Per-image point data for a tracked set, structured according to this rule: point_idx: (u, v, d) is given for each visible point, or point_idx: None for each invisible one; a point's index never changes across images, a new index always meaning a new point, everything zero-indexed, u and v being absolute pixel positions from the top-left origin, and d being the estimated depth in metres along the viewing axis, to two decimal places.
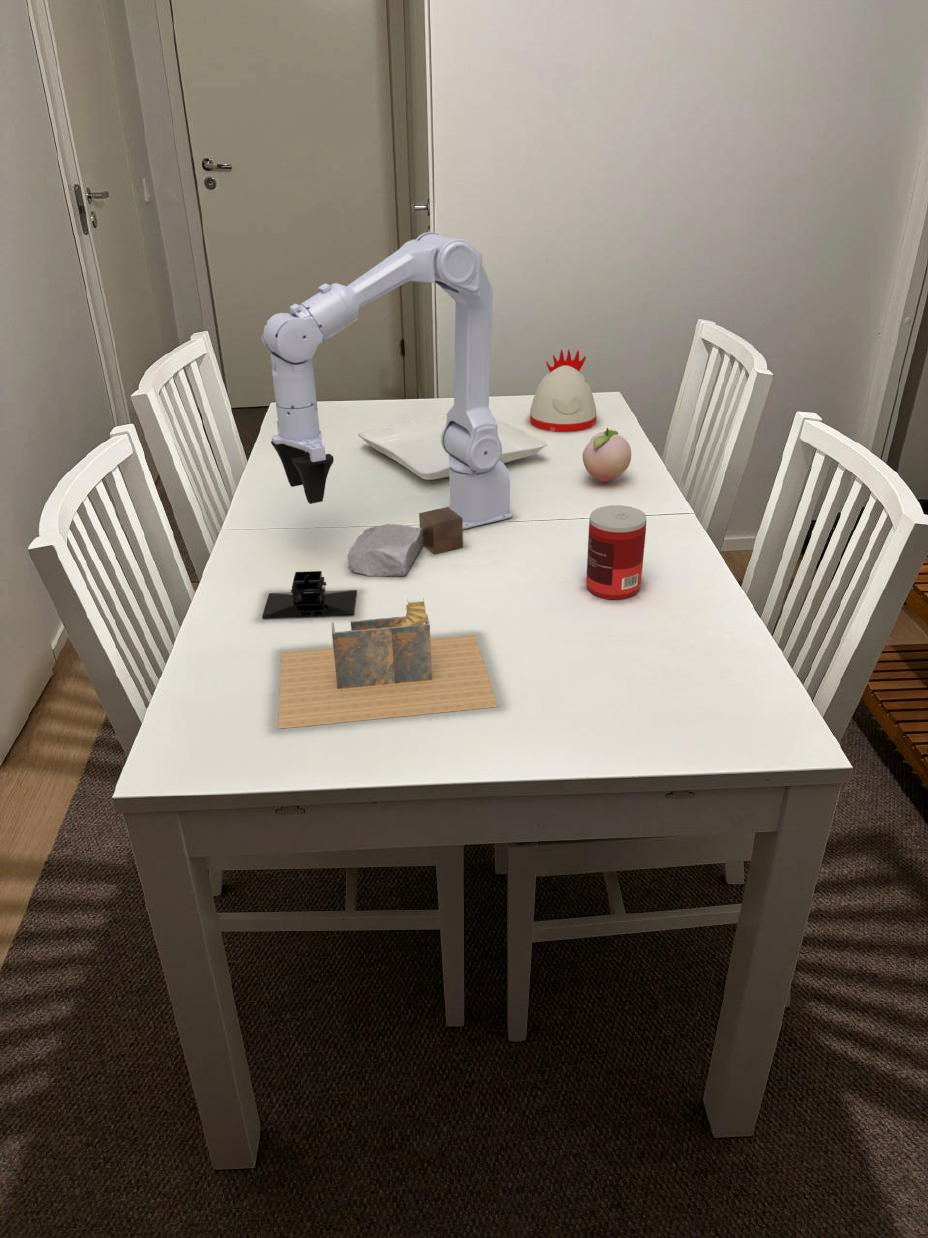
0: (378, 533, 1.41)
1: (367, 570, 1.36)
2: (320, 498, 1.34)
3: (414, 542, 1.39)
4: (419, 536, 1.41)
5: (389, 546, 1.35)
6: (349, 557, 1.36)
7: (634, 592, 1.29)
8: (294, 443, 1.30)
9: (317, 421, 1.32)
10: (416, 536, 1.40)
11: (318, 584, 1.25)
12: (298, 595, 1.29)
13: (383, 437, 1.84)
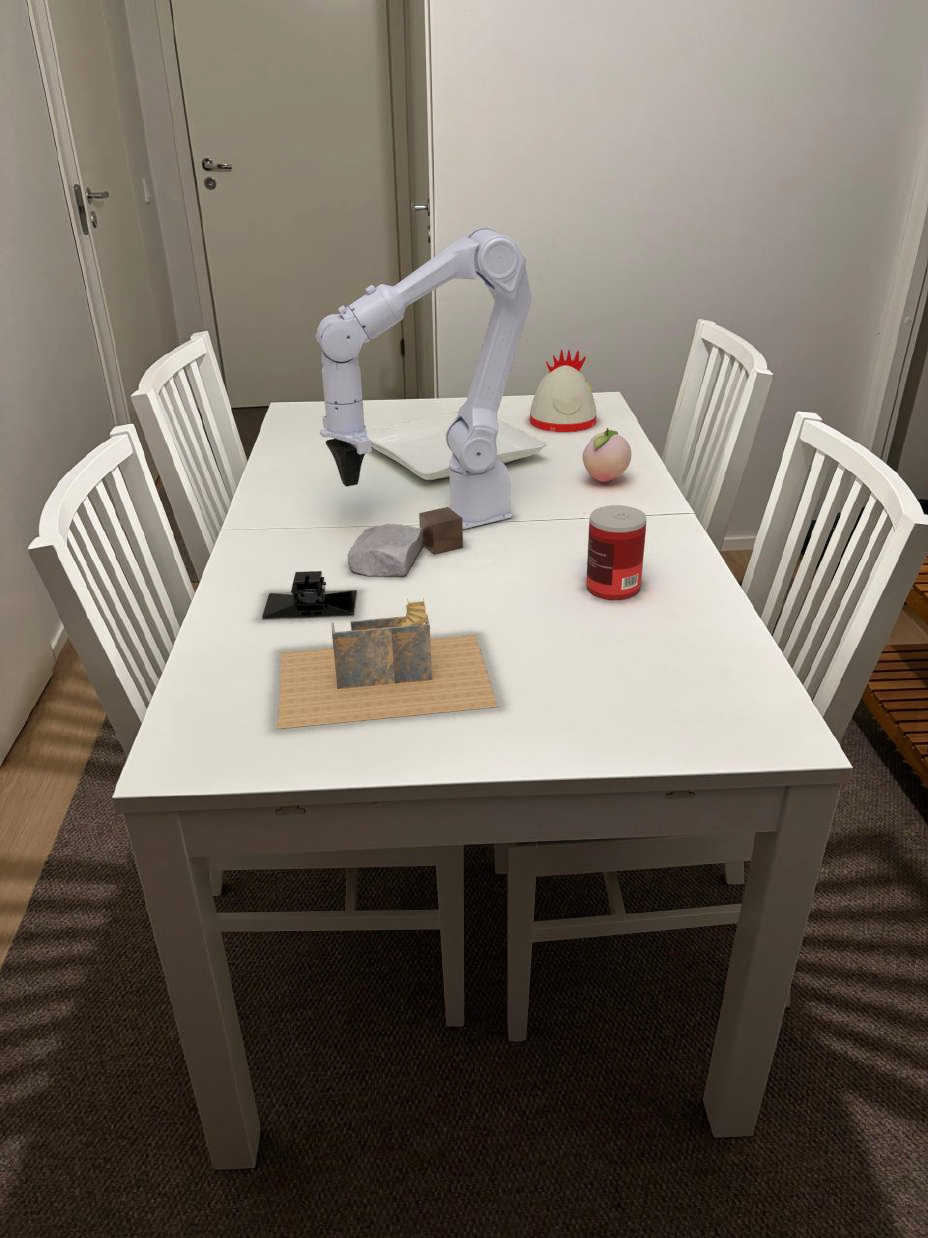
0: (378, 533, 1.41)
1: (367, 570, 1.36)
2: (355, 481, 1.46)
3: (414, 542, 1.39)
4: (419, 536, 1.41)
5: (389, 546, 1.35)
6: (349, 557, 1.36)
7: (634, 592, 1.29)
8: (341, 437, 1.38)
9: (362, 416, 1.40)
10: (416, 536, 1.40)
11: (318, 584, 1.25)
12: (298, 595, 1.29)
13: (383, 437, 1.84)
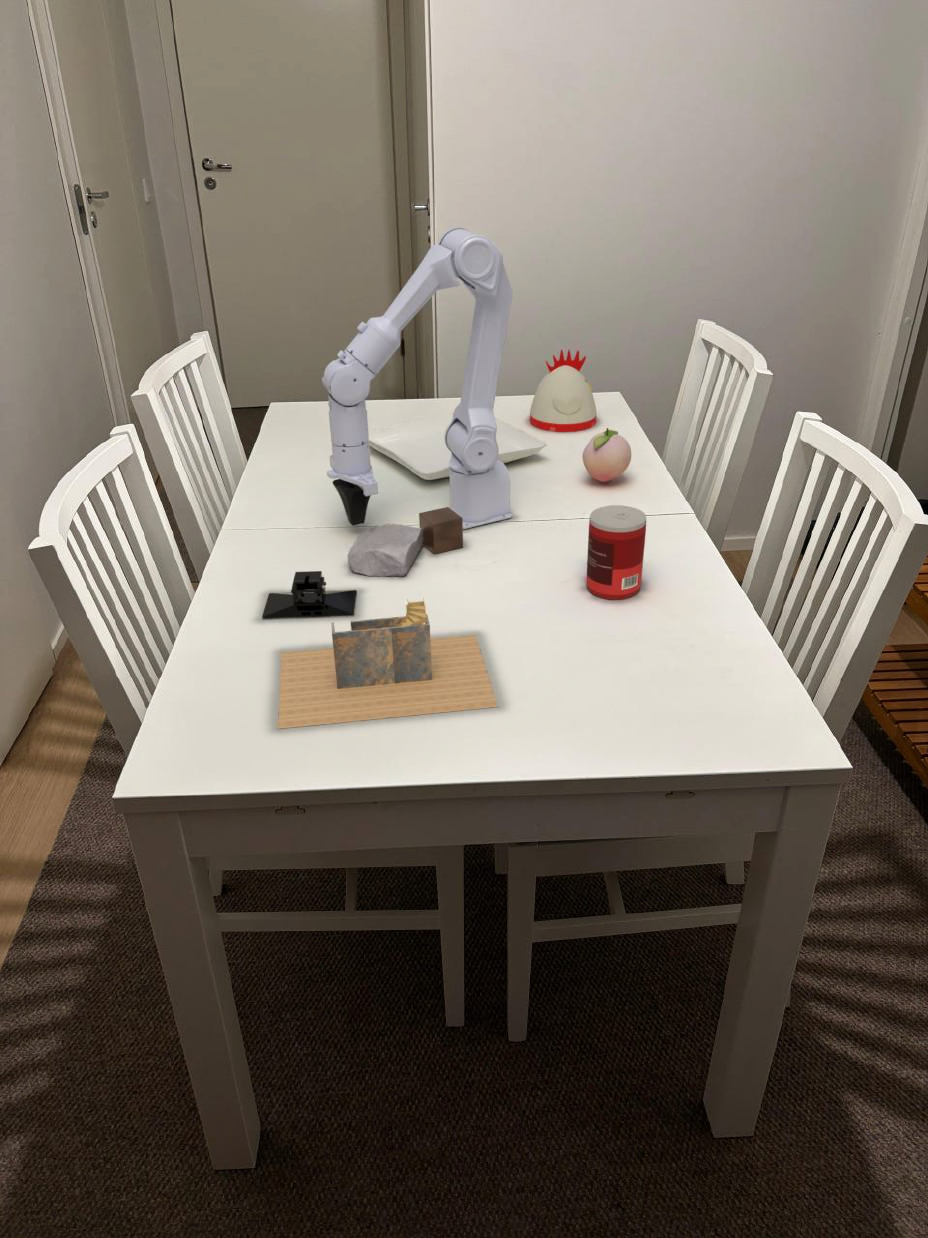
0: (378, 533, 1.41)
1: (367, 570, 1.36)
2: (362, 520, 1.48)
3: (414, 542, 1.39)
4: (419, 536, 1.41)
5: (389, 546, 1.35)
6: (349, 557, 1.36)
7: (634, 592, 1.29)
8: (348, 478, 1.40)
9: (369, 457, 1.42)
10: (416, 536, 1.40)
11: (318, 584, 1.25)
12: (298, 595, 1.29)
13: (383, 437, 1.84)
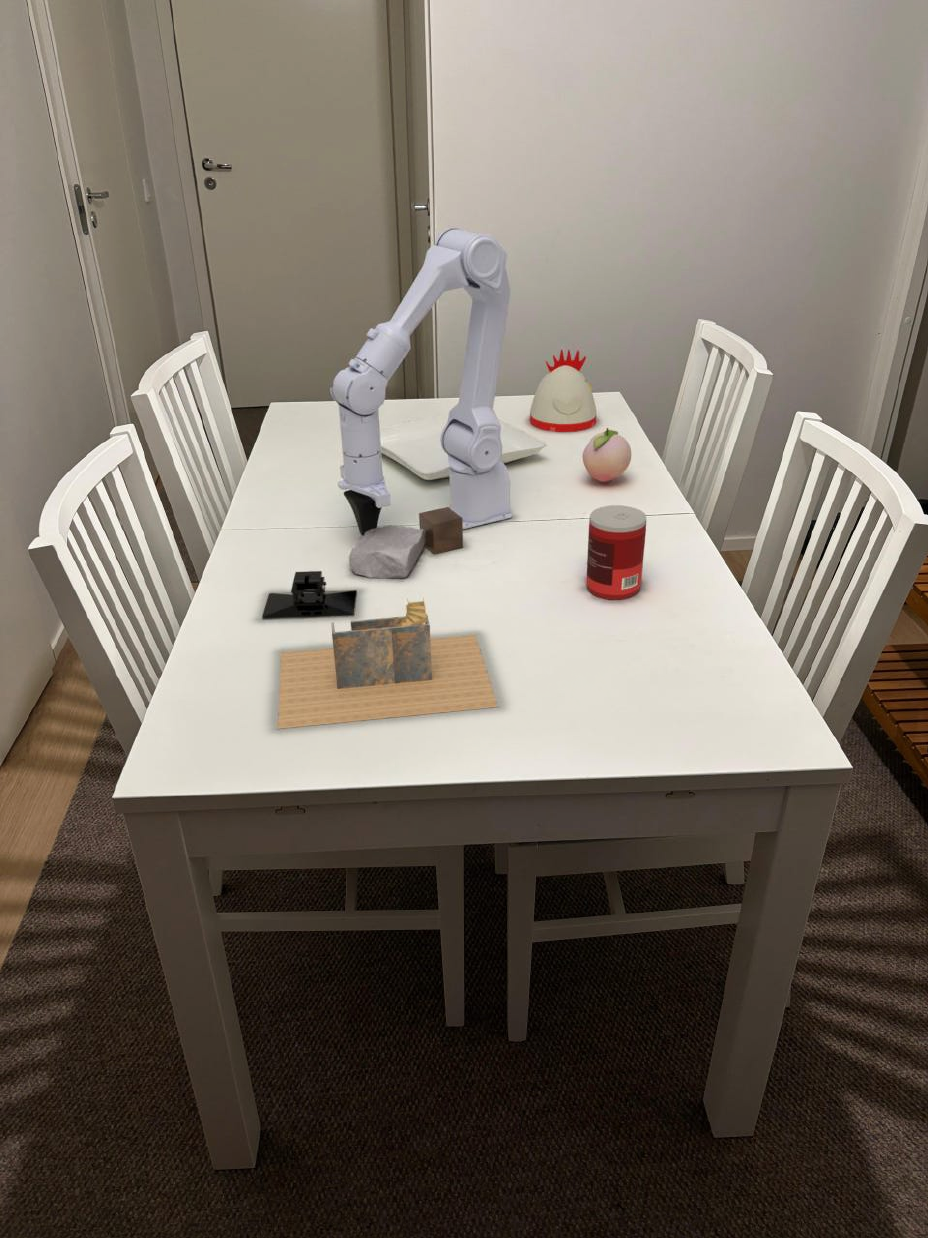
0: (379, 534, 1.41)
1: (368, 572, 1.35)
2: None
3: (416, 544, 1.38)
4: (421, 538, 1.41)
5: (390, 548, 1.34)
6: (350, 559, 1.36)
7: (634, 592, 1.29)
8: (360, 490, 1.37)
9: (381, 468, 1.39)
10: (418, 538, 1.40)
11: (318, 584, 1.25)
12: (298, 595, 1.29)
13: (383, 437, 1.84)
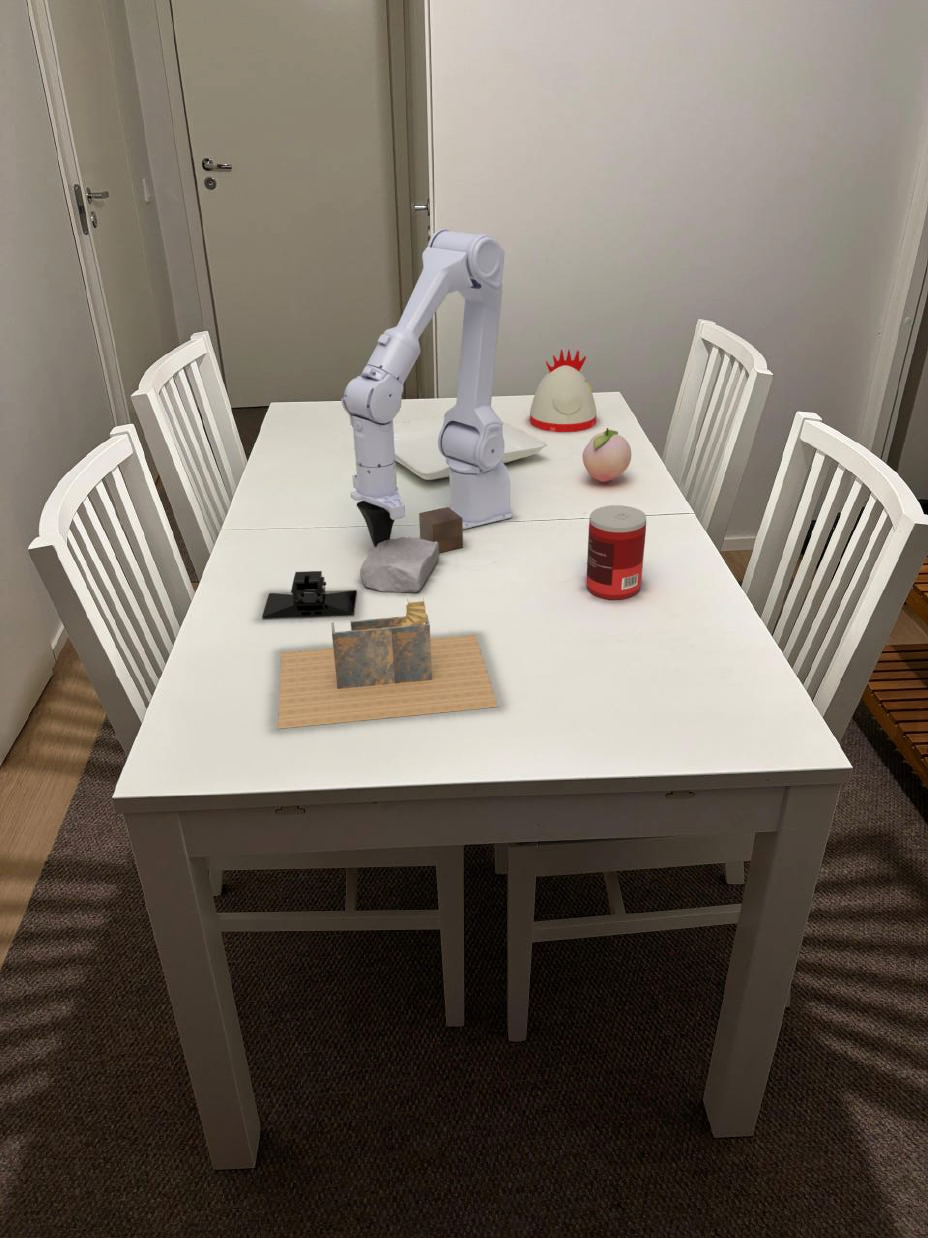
0: (392, 547, 1.37)
1: (380, 585, 1.32)
2: None
3: (429, 557, 1.34)
4: (434, 550, 1.37)
5: (402, 561, 1.30)
6: (361, 571, 1.32)
7: (634, 592, 1.29)
8: (373, 501, 1.33)
9: (395, 478, 1.35)
10: (431, 551, 1.36)
11: (318, 584, 1.25)
12: (298, 595, 1.29)
13: None
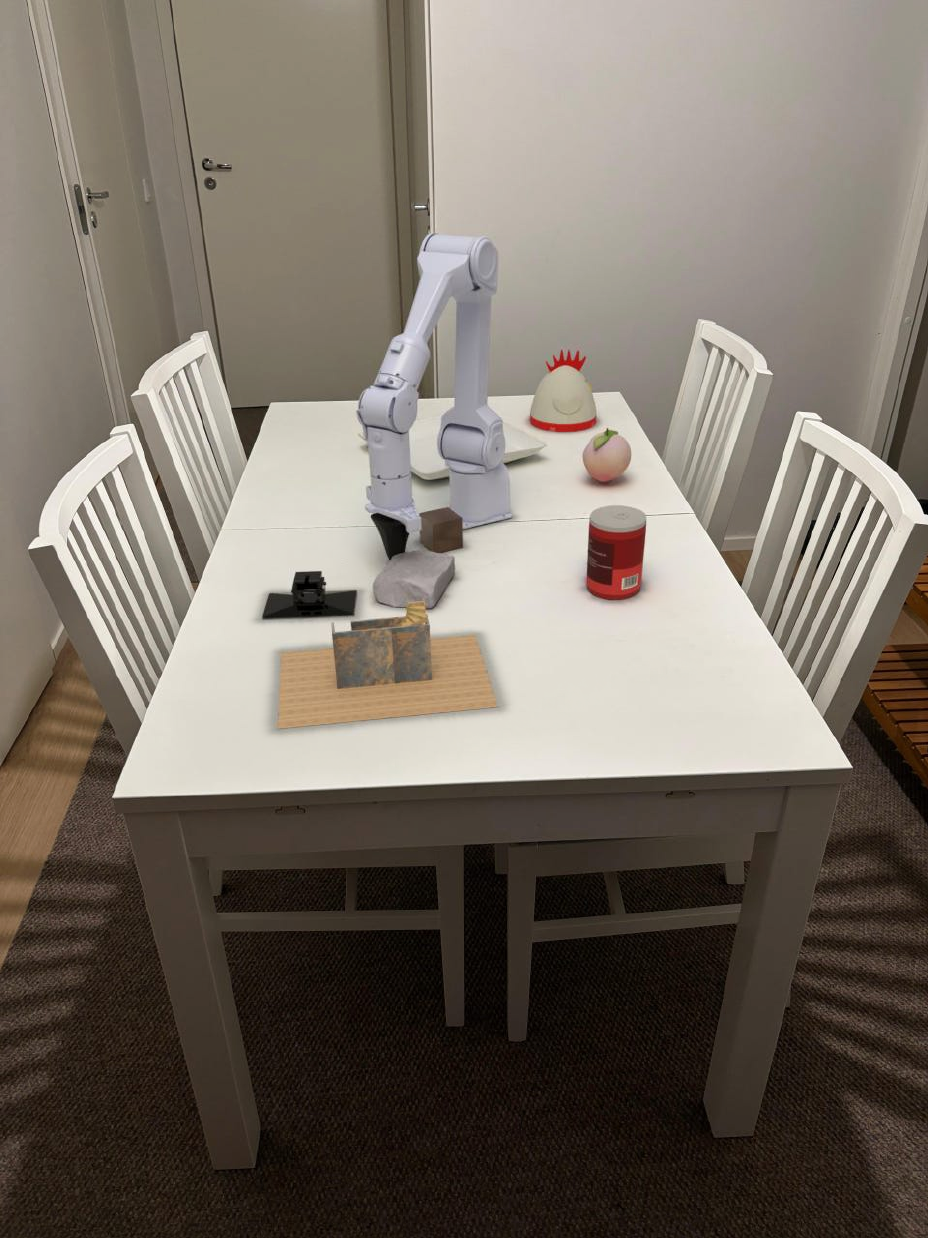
0: (407, 560, 1.33)
1: (393, 601, 1.28)
2: None
3: (444, 572, 1.30)
4: (450, 565, 1.32)
5: (416, 576, 1.26)
6: (374, 586, 1.28)
7: (634, 592, 1.29)
8: (389, 513, 1.29)
9: (411, 490, 1.31)
10: (447, 565, 1.32)
11: (318, 584, 1.25)
12: (298, 595, 1.29)
13: None
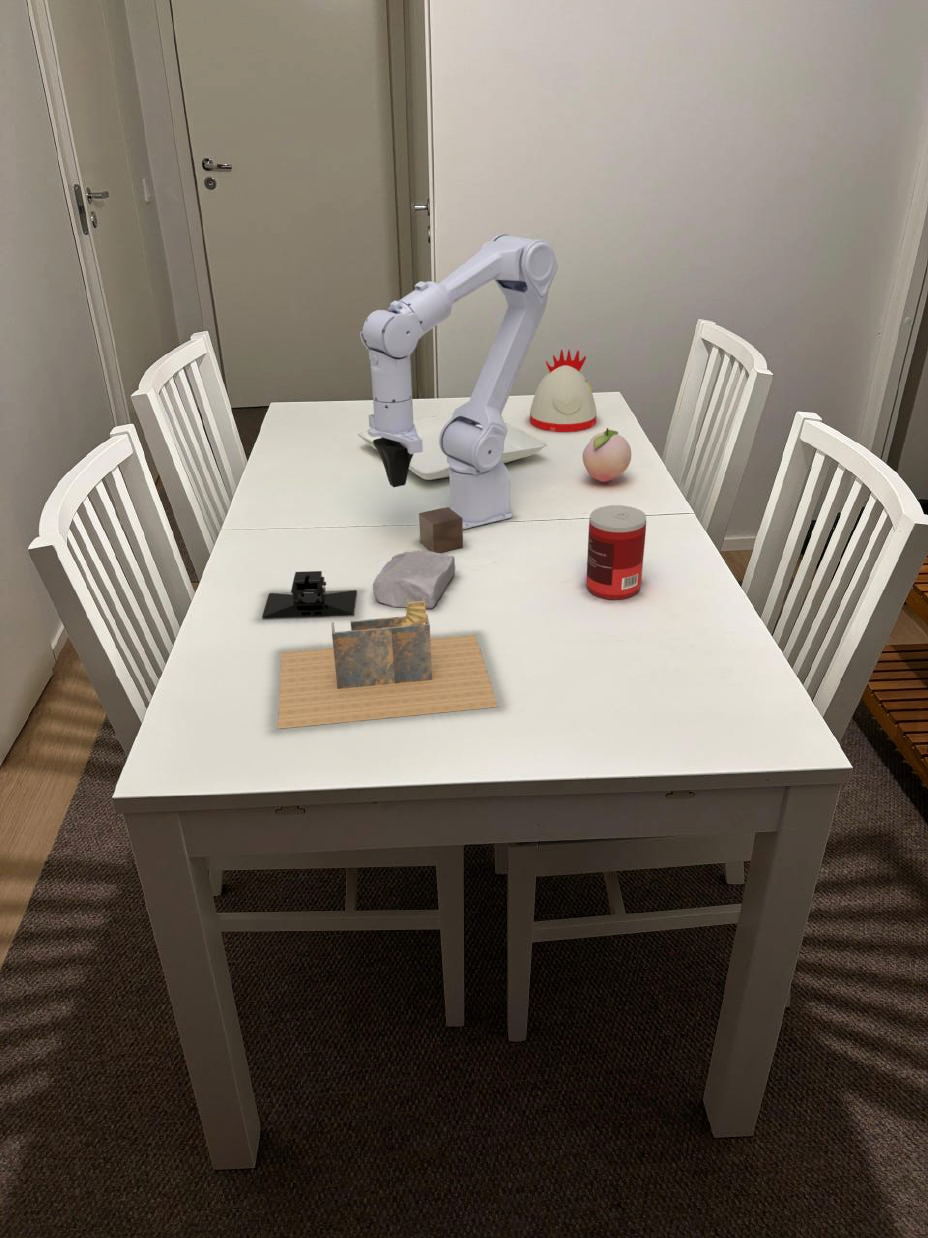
0: (407, 560, 1.33)
1: (393, 601, 1.28)
2: (403, 482, 1.41)
3: (444, 572, 1.30)
4: (450, 565, 1.32)
5: (416, 576, 1.26)
6: (374, 586, 1.28)
7: (634, 592, 1.29)
8: (391, 436, 1.34)
9: (412, 414, 1.36)
10: (447, 565, 1.32)
11: (318, 584, 1.25)
12: (298, 595, 1.29)
13: None
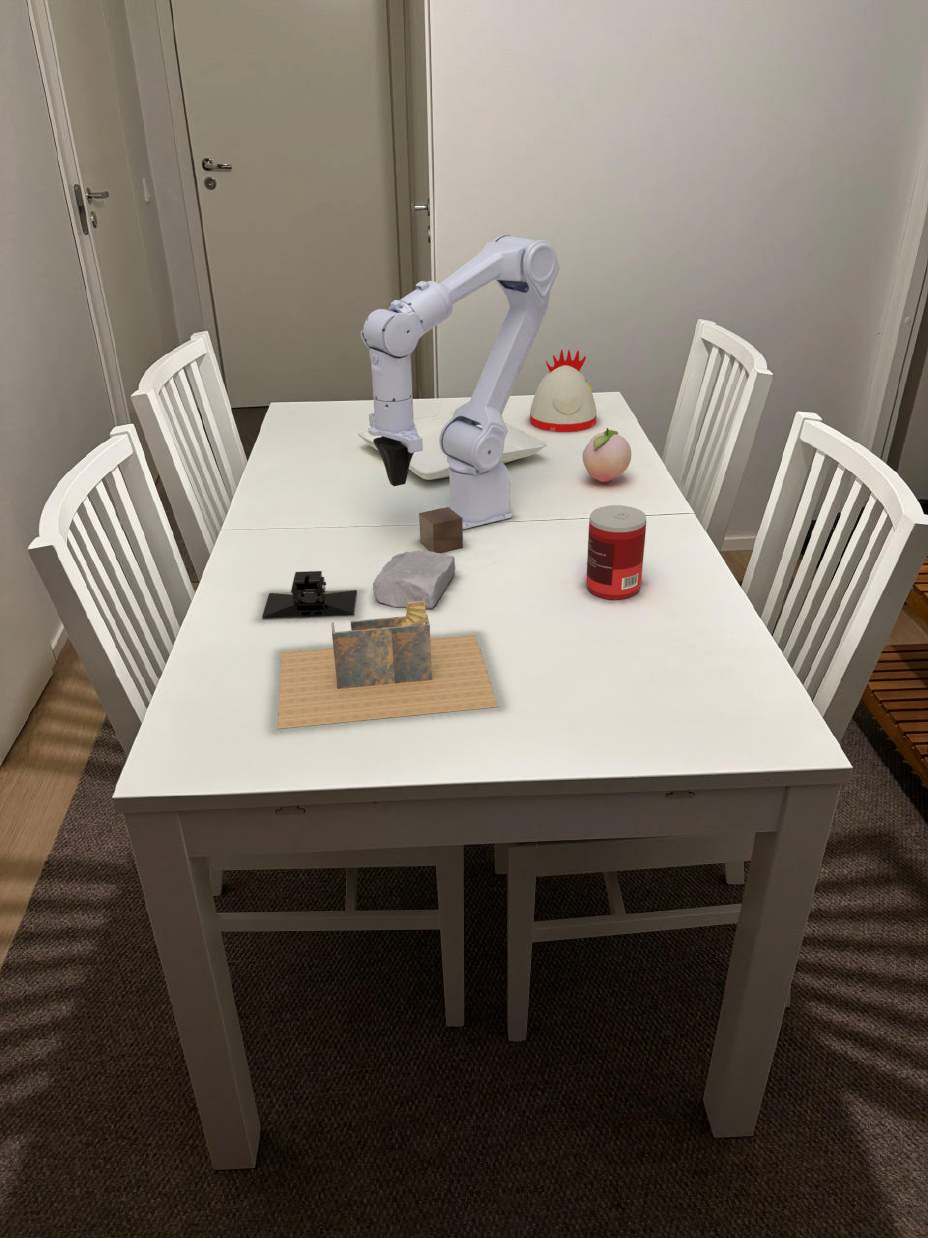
0: (407, 560, 1.33)
1: (393, 601, 1.28)
2: (403, 481, 1.42)
3: (444, 572, 1.30)
4: (450, 565, 1.32)
5: (416, 576, 1.26)
6: (374, 586, 1.28)
7: (634, 592, 1.29)
8: (391, 435, 1.34)
9: (412, 413, 1.36)
10: (447, 565, 1.32)
11: (318, 584, 1.25)
12: (298, 595, 1.29)
13: None
